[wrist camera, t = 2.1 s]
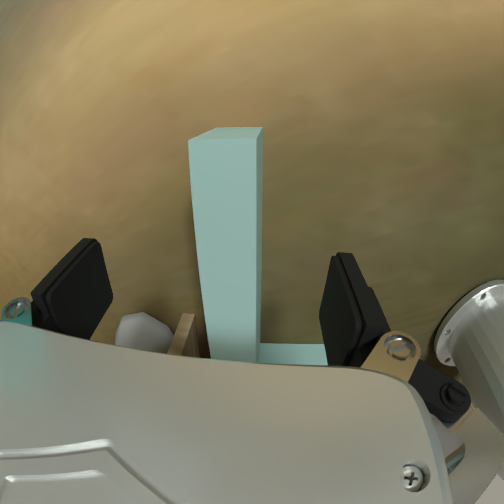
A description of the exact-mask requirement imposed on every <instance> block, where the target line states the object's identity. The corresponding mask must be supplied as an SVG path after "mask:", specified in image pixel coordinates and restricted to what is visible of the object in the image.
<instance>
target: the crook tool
mask: <svg viewBox="0 0 504 504" xmlns="http://www.w3.org/2000/svg"><path fill="white" fill-rule="evenodd" d="M188 148H189V164H190V179H191V193H192V205H193V217H194V228H195V238H196V248H197V257H198V266H199V275H200V283H201V292H202V299H203V307H204V315H205V322H206V329H207V336H208V343H209V349H210V356H211V359H217V360H228V361H240V362H255V363H274V364H304V365H328V363H327V357H326V352H325V346H324V344H273V343H260V323H261V262H262V154H263V127H226V128H215V129H212V130H210V131H208V132H205V133H203V134H201V135H199V136H197V137H194V138H192V139H190V140H188Z"/></svg>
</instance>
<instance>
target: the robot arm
mask: <svg viewBox="0 0 504 504" xmlns="http://www.w3.org/2000/svg"><path fill="white" fill-rule="evenodd" d="M31 296H32V298H33V301H32V302H30V300H29V299H28V298H25V297H20V298H16V299H14V300H12V301H11V302H9V303H8V304H7V305H6V306H5V307H4V309H3V310H2V314H1V320H0V504H475V502H476V501H477V500H478V499H479V497H480V496H481V494H482V493H483V492H484V491H485V489H486V488H487V487H488V486H489V484H490V483H491V481H492V480H493V479H494V477H495V476H496V474H498V475H499V476H500V478H502V479H503V480H504V280H494V281H490V282H487V283H485V284H482V285H480V286H479V287H477V288H475V289H474V290H472V291H471V292H469V293H468V294H467V295H466V296H464V297H463V298H462V299H461V300H460V301H459V302H458V303H457V304H456V305H455V306H454V307H453V308H452V309H451V310H450V312H449V313H448V314H447V316H446V317H445V319H444V320H443V322H442V323H441V325H440V327H439V329H438V331H437V334H436V336H435V341H434V351H435V353H436V356H437V358H438V360H439V361H440V362H441V363H442V364H444V365H447V366H456V368H457V370H458V372H459V374H460V377H461V379H462V381H463V383H464V386H463V385H462V384H461V383H459V382H458V381H456V380H454V379H453V378H451V377H449V376H447V375H446V374H444V373H442V372H441V371H439V370H437V369H435V368H434V367H432V366H430V365H429V364H427V363H425V362H424V361H422V360H420V359H419V357H420V353H421V351H420V346H419V345H418V343H417V341H416V340H415V339H414V338H413V337H411V336H409V335H408V334H406V333H403V332H398V331H392V332H391V330H390V328H389V325H388V323H387V321H386V318H385V316H384V314H383V311H382V309H381V307H380V304H379V302H378V300H377V298H376V296H375V293H374V291H373V289H372V288H371V287H368V286H367V284H366V282H365V279H364V277H363V275H362V273H361V271H360V269H359V266H358V264H357V262H356V260H355V258H354V256H353V254H352V253H341V252H338V253H337V254H336V256H332V257H331V261H330V266H329V271H328V275H327V280H326V285H325V289H324V294H323V298H322V302H321V307H320V312H319V319H320V324H321V330H322V335H323V341H324V346H325V352H326V357H327V363H328V365H304V364H274V363H255V362H240V361H228V360H217V359H207V358H198V357H189V356H181V355H174V354H166V353H159V352H153V351H146V350H140V349H134V348H128V347H123V346H117V345H112V344H107V343H102V342H97V341H92V340H90V338H91V336H92V334H93V333H94V331H95V329H96V327H97V326H98V324H99V322H100V321H101V319H102V317H103V316H104V314H105V312H106V311H107V309H108V308H109V306H110V304H111V303H112V300H113V293H112V289H111V285H110V282H109V278H108V274H107V270H106V266H105V262H104V257H103V253H102V248H101V245H100V243H99V242H98V241H97V240H96V239H91V238H83V239H82V240H81V241H80V242H79V243H78V244H76V245H75V246H74V247H73V248H72V249H71V250H70V251H69V252H68V253H67V254H66V255H65V256H64V257H63V258H62V259H61V260H60V262H59V263H58V264H57V265H56V266H55V267H54V268H53V269H52V270H51V271H50V272H49V273H48V274H47V275H46V276H45V277H44V278H43V280H42V281H41V282H40V283H39V284H38V285H37V286H36V287H35V288H34V290H33V291H32V292H31ZM471 402H472V405H473V407H474V409H473V408H472V407H471V406H470V404H471Z"/></svg>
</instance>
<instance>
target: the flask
mask: <svg viewBox="0 0 504 504" xmlns="http://www.w3.org/2000/svg"><path fill="white" fill-rule="evenodd" d="M173 337H174V335H173V333H172V332H171V330H170V329H169V327H168V326H167V325H165V324H163V323H161V322H160V321H158V320H156V319H155V318H153V317H151V316H150V315H148V314H146V313H145V312H140V313H135V314H129V315H124V316H122V318H121V320H120V322H119V324H118V327H117V329H116V334H115V345H117V346H123V347H128V348H134V349H140V350H146V351H153V352H159V353H166V354H167V352H168V350H169V347H170V344H171V342H172V339H173Z"/></svg>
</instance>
